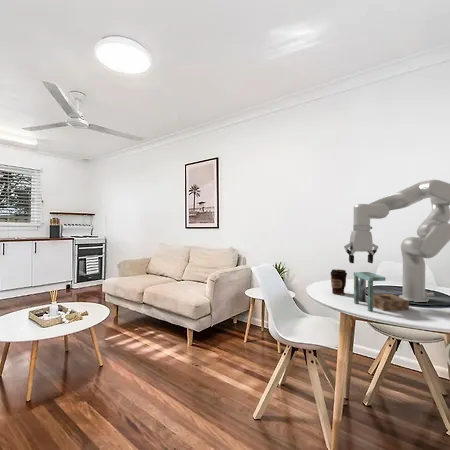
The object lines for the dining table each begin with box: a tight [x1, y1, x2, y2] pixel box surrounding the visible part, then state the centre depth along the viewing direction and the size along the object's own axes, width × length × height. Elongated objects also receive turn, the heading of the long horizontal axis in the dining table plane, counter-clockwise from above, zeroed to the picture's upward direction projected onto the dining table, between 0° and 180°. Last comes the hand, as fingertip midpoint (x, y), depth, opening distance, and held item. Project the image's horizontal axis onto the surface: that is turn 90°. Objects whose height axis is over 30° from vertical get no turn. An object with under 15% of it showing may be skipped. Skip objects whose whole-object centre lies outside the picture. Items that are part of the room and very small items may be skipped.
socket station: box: [353, 271, 410, 312], centre depth 133 cm, size 19×13×15 cm
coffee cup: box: [330, 268, 348, 296], centre depth 157 cm, size 9×8×13 cm
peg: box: [359, 278, 367, 303], centre depth 143 cm, size 4×4×12 cm
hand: (360, 262), depth 143 cm, fingers open, 9 cm apart
